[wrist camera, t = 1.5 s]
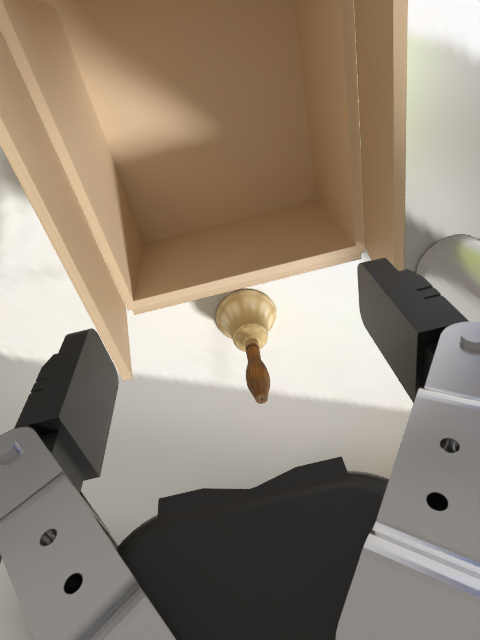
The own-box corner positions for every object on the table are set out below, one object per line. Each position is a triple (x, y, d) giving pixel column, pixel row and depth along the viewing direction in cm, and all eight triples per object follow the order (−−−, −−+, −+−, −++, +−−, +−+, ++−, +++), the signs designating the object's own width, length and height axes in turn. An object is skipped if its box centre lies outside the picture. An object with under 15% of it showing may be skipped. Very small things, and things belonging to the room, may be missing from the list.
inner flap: (394, 314, 27) (403, 313, 27) (392, -199, 15) (410, -205, 15) (365, 246, 36) (372, 245, 36) (348, -117, 23) (359, -121, 23)
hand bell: (244, 349, 59) (260, 436, 46) (202, 316, 55) (207, 401, 42) (288, 314, 56) (319, 395, 43) (247, 277, 52) (268, 354, 39)
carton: (292, -80, 34) (346, -147, 23) (322, 207, 48) (365, 257, 37) (41, -11, 35) (-32, -40, 23) (143, 252, 49) (130, 315, 37)
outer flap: (-90, -62, 15) (-107, -58, 15) (132, 378, 28) (123, 381, 28) (-21, -14, 24) (-31, -12, 24) (125, 306, 37) (119, 308, 36)
